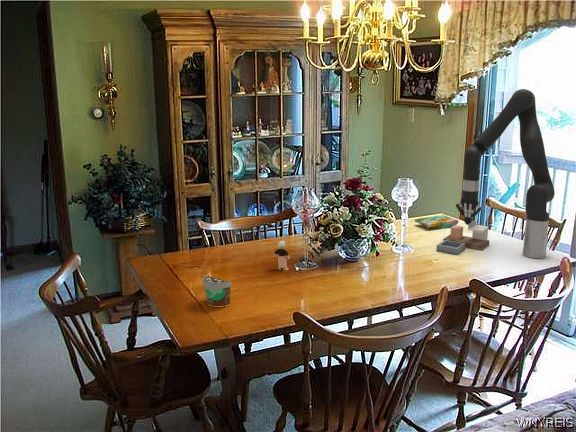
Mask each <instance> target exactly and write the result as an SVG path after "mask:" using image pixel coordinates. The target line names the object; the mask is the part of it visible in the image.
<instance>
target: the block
mask: <svg viewBox="0 0 576 432" xmlns="http://www.w3.org/2000/svg"><path fill="white" fill-rule="evenodd" d="M449 235H450V239H456V240H461V239H462V238H463V236H464V226H462V225H454V226H452V227H450V234H449Z"/></svg>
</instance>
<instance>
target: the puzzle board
mask: <svg viewBox="0 0 576 432" xmlns="http://www.w3.org/2000/svg"><path fill="white" fill-rule="evenodd" d="M444 240H449V241H454V242H460V243H465V244H466V245H465V249H469V250H470V249H472V250H477V251H481V252H482V251H484V250H485V249H487V248H488V247H489V246H490V241H491V240H488V239H487V241H485V240H479V239H474V238H472V236H466V235H463V238H462V239H461V240H456V239H450V234H448V235H447V236H446V237H445V236H444V238H443V241H444ZM443 241H442V242H443Z"/></svg>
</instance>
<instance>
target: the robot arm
mask: <svg viewBox="0 0 576 432" xmlns="http://www.w3.org/2000/svg"><path fill="white" fill-rule="evenodd" d="M517 117H518V123H519V143H520V144H519V145H520V149H521V155H522V158H523V159H524V161H525V163H526V164H527V167H528V168H529V169H530V172H531V174H532V178H533V185H531V186H530V187H529V188H528V189H527V191H526V196H525V197H526V198H525V213H526V219H525V227H524V235H523V236H524V237H523V246H522V247H523V248H522V255H523V256H524V257H526V258H532V259H544V258H545V257H546V256H547V249H548V242H549V241H548V240H549V235H548V230H549V221H550V213H549V212H547V206H548V205H547V204H548V203H551V201H552V200H554V198H555V192H556V191H555V186H554V184H553V180H552V178H551V175H550V171H549V167H548V161H547V156H546V150H545V144H544V140H543V136H542V131H541V128H540V124H539V122H538V117H537V104H536V97H535V94H534V93H533V92H532V91H531V90H529V89H526V88H521V89H518V90H516V91H514V93H512V95H511V97H510V98H509V100H508V101H507V103H506V105H505V106H504V107H503V108H502V110H501V112H499V114H498V115H497V116H496V117H495V119H493V121H492V122H491V123H490V124H489V125H488V126H487V127H486V128H485V129H484V130H483V132H482V133H480V135H479V137H478V138H477V139H476V140H475V141H474V142H473V143H472V144H471V145H470V146H469V147H468V148H467V150H466V151H465V153H464V159H463V161H464V162H463V164H464V165H463V167H464V169H463V180H462V181H463V182H462V185H461V188H462V189H461V199H460V202H458V203H456V204H455V207H456V209H457V210H458V212H459V213H460V215H461V216H463V217H464V224H465V225H467V226H468V224H469V223H471V222H472V221H473V219H472V218H474V217H476V216H477V215H478V214H479V213H480V212H481V211H482V210H483V209H484V207H483V206H481V205H480V202H479V192H480V171H481V170H480V162H481V157H482V156H483V155H484V154H486V152H487V151H488V150H489V148H491V147H492V146H493V145H494V144H495V143H496V142H497V141H498V140H499V139H500V137H501V136H502V135H503V133H504V132H505V131H506V129H507V128H508V127H509V125H510V124H511V123H512V122H513V120H515V119H516V118H517ZM474 210H475V211H474Z"/></svg>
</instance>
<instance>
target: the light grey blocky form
mask: <svg viewBox="0 0 576 432" xmlns="http://www.w3.org/2000/svg"><path fill="white" fill-rule="evenodd" d="M467 231H470V232H471V231H472V236H471V237H472V238H474V239H479V240H485V241H487V240H488V236H489V226H486V225H482V224H481V225H480V224H478V223H477V220H472V221H471V223H469V224H468V225H467Z"/></svg>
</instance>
